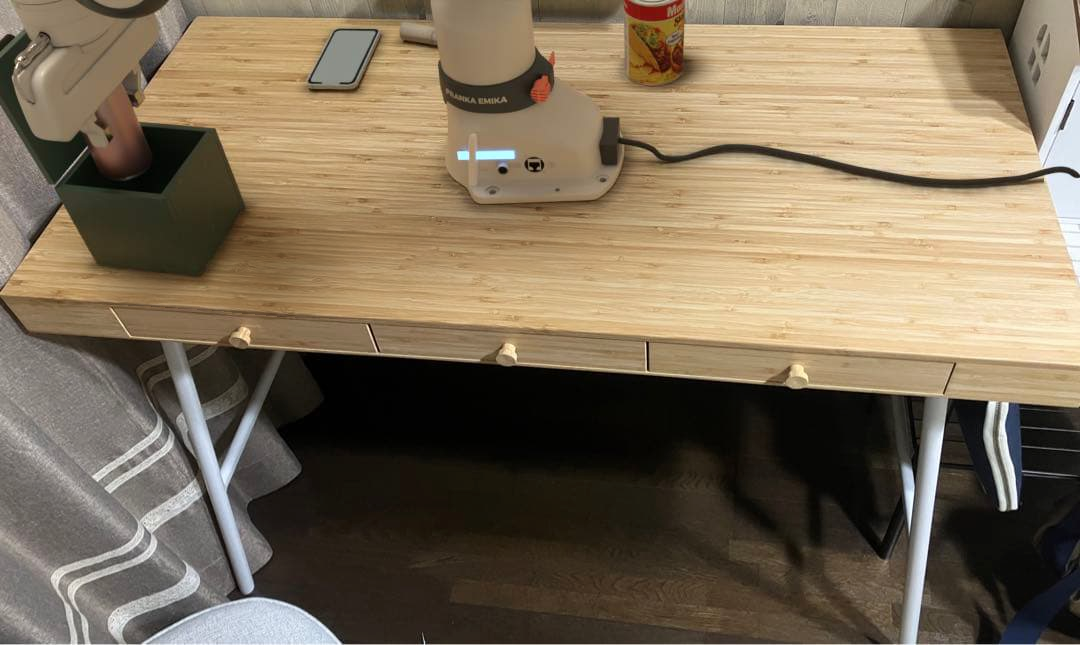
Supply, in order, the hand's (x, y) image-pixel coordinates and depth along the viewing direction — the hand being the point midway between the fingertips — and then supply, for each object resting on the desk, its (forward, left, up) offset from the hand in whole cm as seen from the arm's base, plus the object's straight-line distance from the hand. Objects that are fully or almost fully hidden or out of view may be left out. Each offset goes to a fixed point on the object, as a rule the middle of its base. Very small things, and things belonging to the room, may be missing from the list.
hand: (120, 122), depth 110 cm
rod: (-20, -44, -17) cm, 51 cm away
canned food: (-52, -41, -17) cm, 68 cm away
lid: (+7, 0, +3) cm, 7 cm away
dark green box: (0, 0, -16) cm, 17 cm away
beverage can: (+2, 0, -6) cm, 6 cm away
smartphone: (-8, -38, -17) cm, 42 cm away
